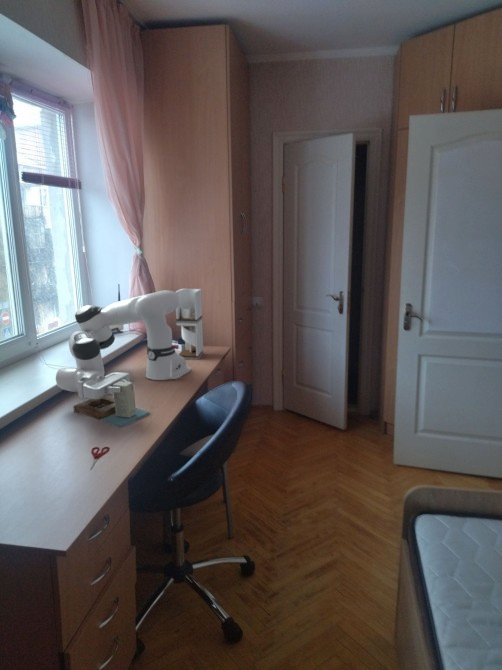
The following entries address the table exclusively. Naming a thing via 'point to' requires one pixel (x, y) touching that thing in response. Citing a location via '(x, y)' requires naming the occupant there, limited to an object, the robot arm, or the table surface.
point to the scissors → (96, 455)
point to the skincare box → (124, 400)
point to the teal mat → (125, 418)
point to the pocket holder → (90, 410)
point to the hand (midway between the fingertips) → (125, 387)
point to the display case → (190, 322)
